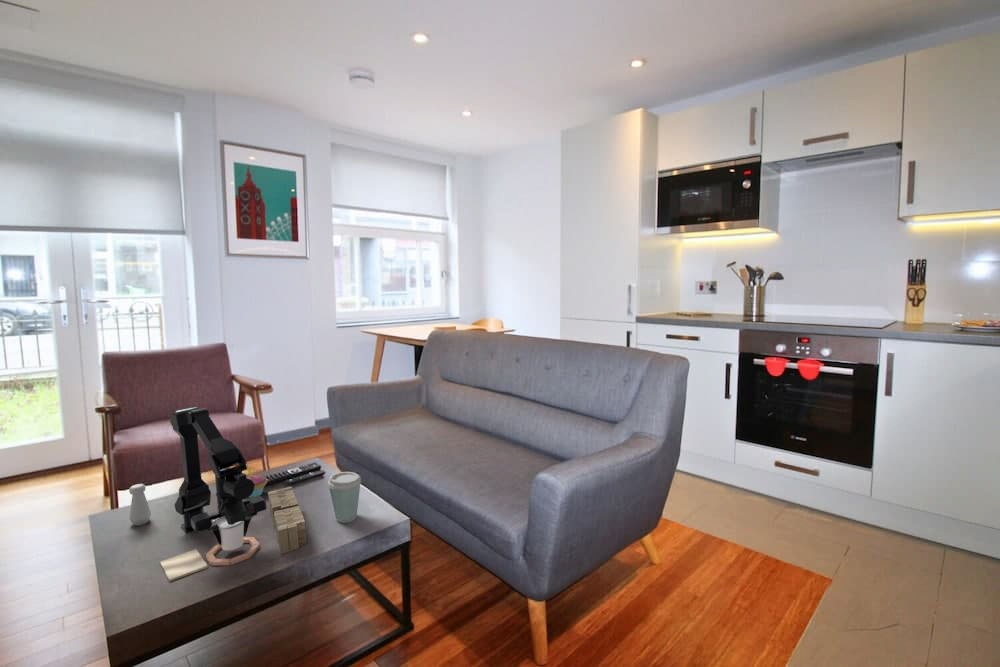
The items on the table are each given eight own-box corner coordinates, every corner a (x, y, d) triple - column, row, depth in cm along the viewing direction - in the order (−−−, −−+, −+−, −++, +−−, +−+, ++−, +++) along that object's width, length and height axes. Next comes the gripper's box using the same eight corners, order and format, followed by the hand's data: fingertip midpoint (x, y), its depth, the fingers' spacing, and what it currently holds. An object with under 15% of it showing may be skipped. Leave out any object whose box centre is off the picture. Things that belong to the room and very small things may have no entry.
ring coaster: (202, 552, 144) (202, 549, 144) (249, 535, 154) (249, 532, 153) (215, 571, 135) (214, 567, 135) (264, 551, 144) (264, 548, 144)
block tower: (307, 549, 147) (293, 507, 172) (306, 523, 146) (292, 484, 171) (279, 557, 143) (269, 513, 168) (277, 530, 142) (267, 490, 167)
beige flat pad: (160, 563, 139) (160, 561, 139) (196, 550, 146) (196, 548, 145) (169, 582, 131) (169, 579, 131) (207, 567, 137) (207, 565, 137)
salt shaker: (125, 525, 161) (121, 488, 160) (143, 517, 167) (138, 480, 165) (139, 528, 159) (134, 490, 158) (155, 519, 165) (151, 482, 163)
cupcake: (237, 499, 178) (234, 468, 177) (250, 489, 187) (247, 459, 185) (260, 499, 178) (258, 468, 177) (272, 489, 186) (269, 459, 185)
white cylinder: (239, 536, 149) (237, 514, 148) (250, 544, 145) (248, 521, 144) (215, 546, 144) (213, 523, 143) (225, 554, 139) (223, 531, 138)
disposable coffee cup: (357, 507, 171) (355, 466, 169) (367, 520, 162) (365, 477, 160) (326, 516, 165) (323, 474, 163) (335, 530, 156) (332, 485, 154)
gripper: (198, 510, 130) (203, 565, 132) (271, 488, 143) (275, 538, 145) (188, 497, 138) (193, 549, 140) (258, 477, 151) (261, 524, 153)
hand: (232, 540), depth 144 cm, fingers closed on white cylinder, 6 cm apart
